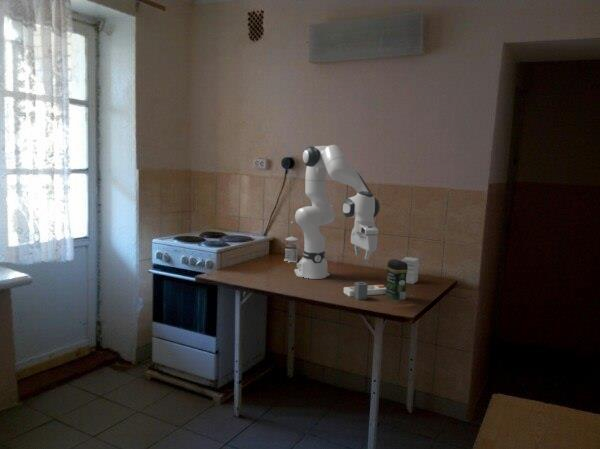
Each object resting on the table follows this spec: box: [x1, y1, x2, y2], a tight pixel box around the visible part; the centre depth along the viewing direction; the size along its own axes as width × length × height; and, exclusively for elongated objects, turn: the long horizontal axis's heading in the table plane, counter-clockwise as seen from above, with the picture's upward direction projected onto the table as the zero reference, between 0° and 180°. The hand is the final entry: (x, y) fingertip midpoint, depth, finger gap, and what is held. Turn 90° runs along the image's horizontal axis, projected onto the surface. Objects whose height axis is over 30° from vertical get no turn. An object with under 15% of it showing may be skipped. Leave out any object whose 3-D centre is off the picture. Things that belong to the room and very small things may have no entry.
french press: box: [283, 221, 300, 263], centre depth 303 cm, size 10×12×25 cm
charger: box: [353, 281, 369, 301], centre depth 226 cm, size 4×4×8 cm
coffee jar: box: [385, 258, 408, 301], centre depth 229 cm, size 10×8×19 cm
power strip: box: [343, 284, 387, 297], centre depth 234 cm, size 7×20×4 cm, turn 109°
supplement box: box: [401, 256, 420, 285], centre depth 262 cm, size 7×7×13 cm
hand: (362, 257), depth 223 cm, fingers open, 8 cm apart
